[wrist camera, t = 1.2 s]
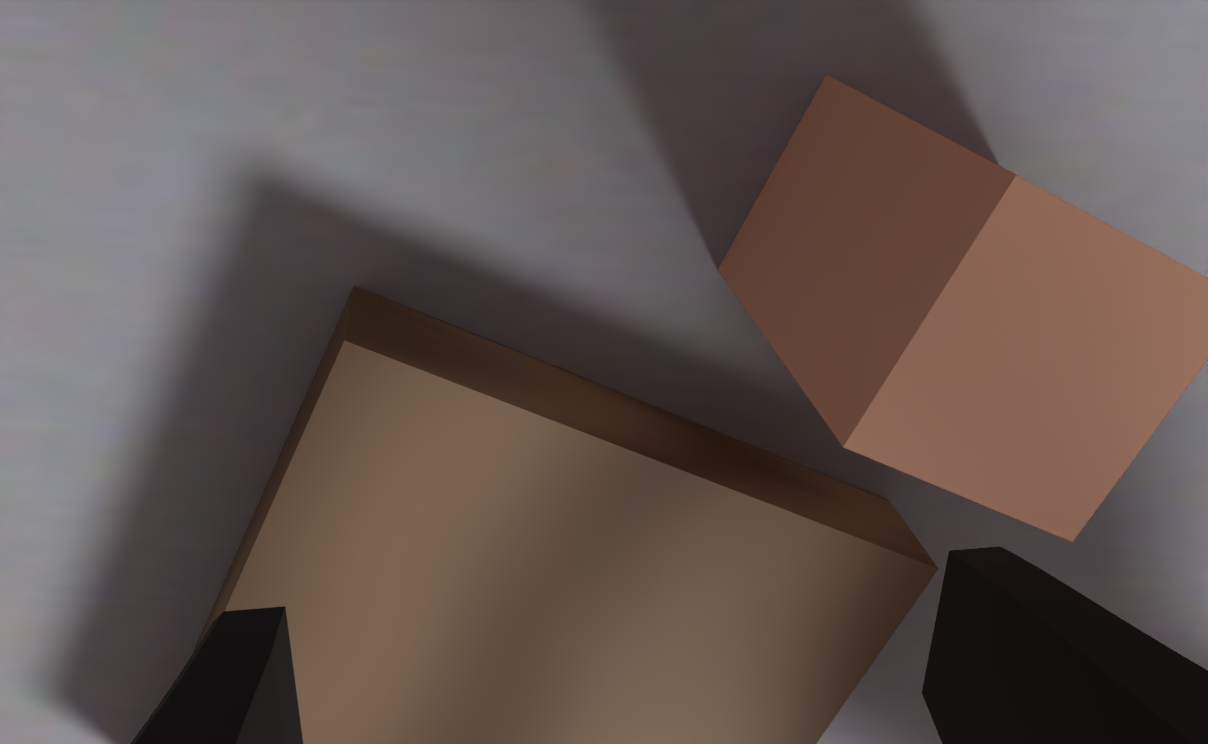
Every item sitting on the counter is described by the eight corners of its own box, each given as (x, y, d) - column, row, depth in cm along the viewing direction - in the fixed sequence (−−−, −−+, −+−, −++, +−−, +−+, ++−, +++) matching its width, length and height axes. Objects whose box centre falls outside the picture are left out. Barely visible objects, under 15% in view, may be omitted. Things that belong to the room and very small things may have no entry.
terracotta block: (1000, 167, 21) (1251, 301, 14) (888, 347, 22) (1072, 542, 16) (826, 74, 19) (1016, 174, 13) (717, 269, 21) (843, 446, 14)
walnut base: (889, 500, 23) (938, 568, 21) (632, 888, 27) (650, 980, 25) (354, 286, 20) (344, 340, 17) (142, 768, 23) (112, 863, 21)
